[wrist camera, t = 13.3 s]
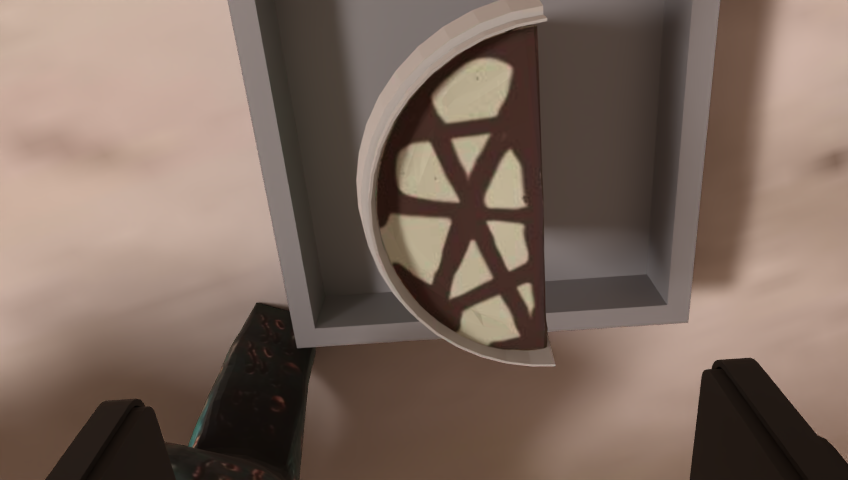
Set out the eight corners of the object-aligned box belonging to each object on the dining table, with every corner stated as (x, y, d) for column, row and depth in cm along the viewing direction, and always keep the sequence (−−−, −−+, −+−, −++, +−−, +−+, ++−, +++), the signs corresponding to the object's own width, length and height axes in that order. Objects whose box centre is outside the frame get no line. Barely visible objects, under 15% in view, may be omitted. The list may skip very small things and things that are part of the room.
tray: (659, 281, 33) (688, 322, 29) (311, 304, 33) (296, 348, 30) (689, -121, 25) (733, -133, 22) (242, -77, 26) (211, -82, 22)
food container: (357, -3, 26) (316, 21, 17) (506, -20, 26) (547, -4, 17) (394, 264, 31) (377, 393, 22) (519, 252, 31) (556, 379, 22)
